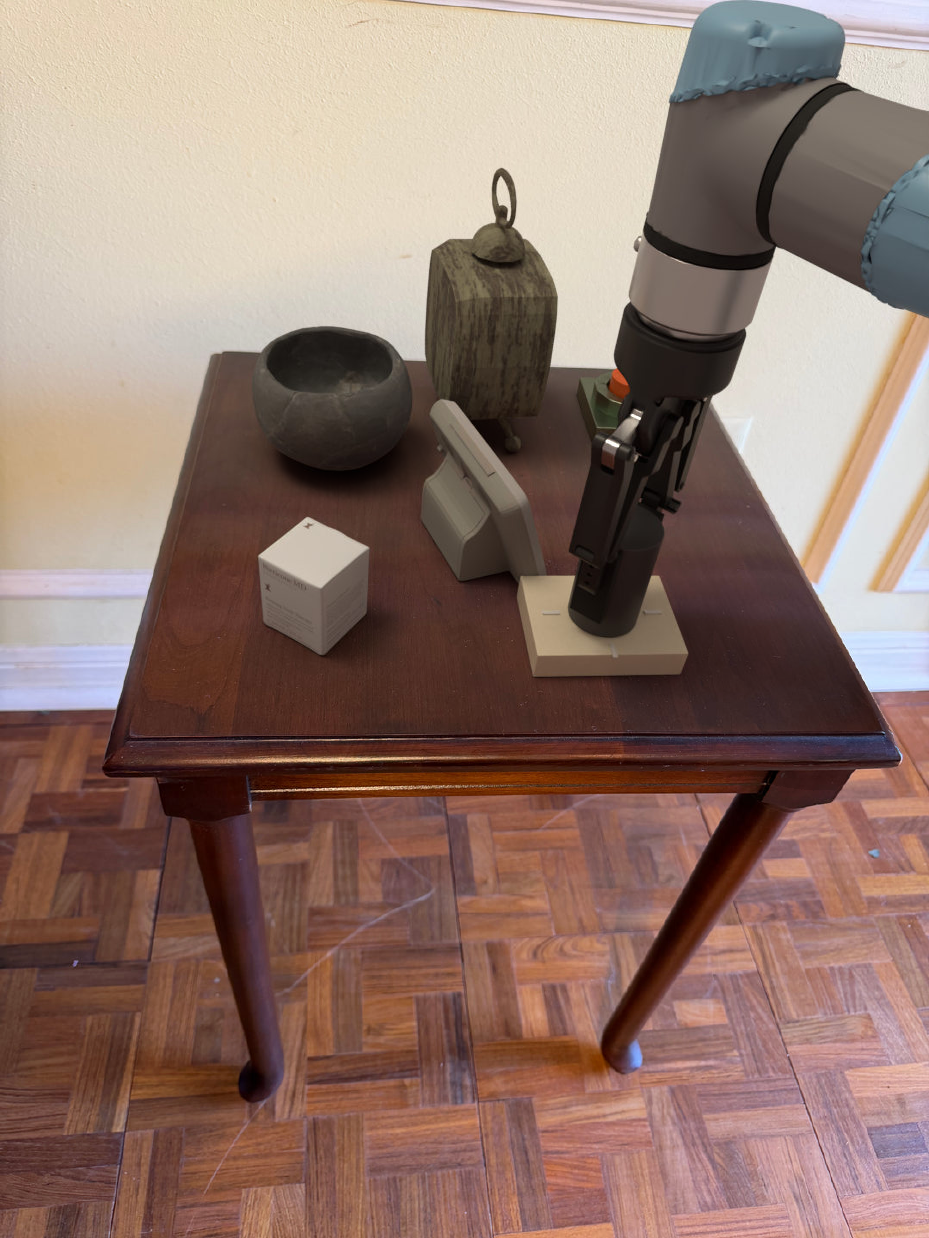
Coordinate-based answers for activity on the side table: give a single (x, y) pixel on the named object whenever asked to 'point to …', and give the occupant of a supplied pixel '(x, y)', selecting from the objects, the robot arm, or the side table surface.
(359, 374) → the bowl
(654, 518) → the dial
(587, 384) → the button block
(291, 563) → the product box
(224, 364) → the side table surface
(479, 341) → the tabletop clock
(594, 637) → the dial panel
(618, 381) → the push button
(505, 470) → the digital clock
